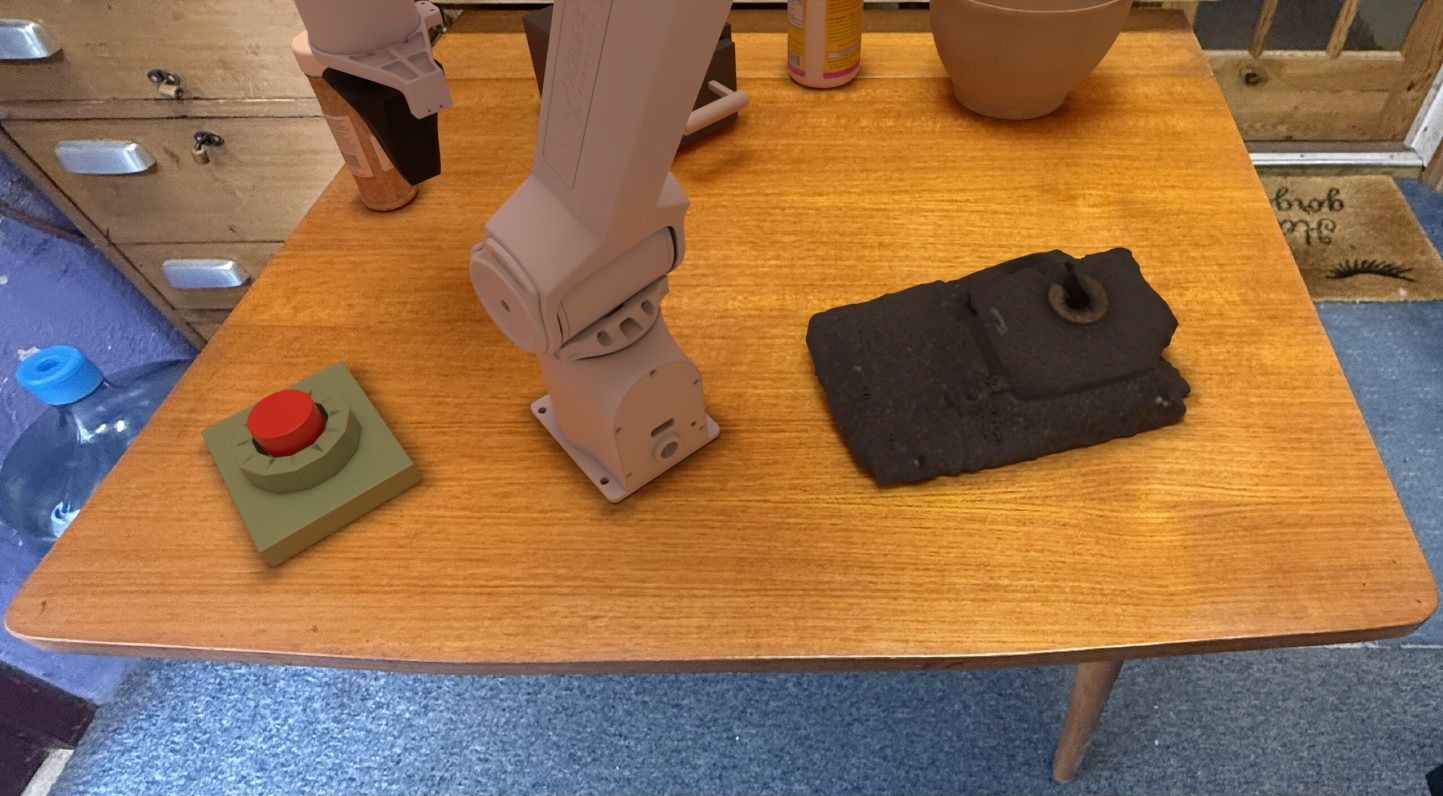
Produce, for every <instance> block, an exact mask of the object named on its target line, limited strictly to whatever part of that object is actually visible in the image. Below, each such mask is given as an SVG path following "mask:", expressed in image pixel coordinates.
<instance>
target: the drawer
mask: <svg viewBox="0 0 1443 796" xmlns="http://www.w3.org/2000/svg"><path fill="white" fill-rule="evenodd" d="M736 57H737V56H736V43H735V41H733V40H732V41H731V40H729V39H727V38H724V39H722V40H720V41H718V43H717V46H716V48H715V51H714V53H713V56H712V59H711V61H710V64H709V67H708V69H707V72H706V75H705V77H704V80H703V83H702V85H701V88H700V91H699V93H698V96H697V98H696V101H695V104H694V106H693V109H692V112H691V114H690V117H689V120H688V122H687V125H686V128H685V130H684V133H683V136H682V138H681V141H680V143H679V146H678V149H680V148H682V147H685V146H686V145H688V143H689V144H691V143H692V141H693V142H695V141H697V140H699V139H701V138H703V137H705V136H707V135H708V134H711V133H713V132H716V131H717V129H718V130H720V129H721V127H722V128H723V126H724V127H726V126H728V125H730V124H732V123H735V122H736V121H738V120H739V111H741V110H744V109H745V108H747V107H748V106H749V100H750V99H749V97H748V95H747V93H746V92H745V90H744V89H738V84H737V83H738V82H737V81H738V80H737V79H738V78H737V61H736V60H737V59H736ZM725 125H726V126H725ZM719 128H720V129H719ZM696 139H697V140H696ZM694 140H695V141H694ZM690 142H691V143H690Z"/></svg>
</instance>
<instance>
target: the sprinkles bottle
mask: <svg viewBox="0 0 1443 796" xmlns="http://www.w3.org/2000/svg"><path fill="white" fill-rule="evenodd" d="M290 47H291V51H292V53H293V56H294V58H295V60H296V63H297V65H298V67H299V69H300V71H301V72H302V73H303V74H304V76H305V77H306V79H307V80H308V82H309V85H310V87H311V88H312V91H313V93H314V96H315V98H316V99H317V102H318V104H319V107H320V111H321V113H322V115H323V117H324V120H325V121H326V124H327V126H328V128H329V131H330V132H331V135H332V136H333V139H334V141H335V144H336V145H337V148H338V150H339V152H340V154H341V156H342V159H343V160H344V163H345V165H346V168H347V169H348V171H349V172H350V173H351V175H352V177H353V178H354V181H355V184H356V186H357V188H358V191H359V192H360V198H361V201H362V204H364V205H365V206H366V207H367V208H369V209H371V210H375V211H384V212H385V211H390V210H396V209H398V208H400V207H403V206H404V205H407V203H410V202H411V201H412V200H413V199H414V198H415V197H416V194H417V192H418V184H417V185H414V186H411V185H410V184H409V183H408V182H407V181H406V180H405V179H404V178H403V177H402V176H401V175H400V174H399V172H398V171H397V170H396V169H395V167H394V166H393V164H392V163H391V161H390V160H389V158H388V157H387V155H386V154H385V152H384V151H383V149H382V148H381V146H380V145H379V143H378V141H377V140H376V138H375V137H374V135H373V134H372V132H371V131H370V129H369V128H368V126H367V125H366V124H365V122H364V121H363V120H362V118H361V117H360V116H359V114H358V113H357V112H356V111H355V110H354V108H353V107H352V106H351V105H349V104H348V103H347V102H346V101H345V100H344V99H343V98H342V97H341V96H340V95H339V94H338V93H337V92H336V91H335V90H334V89H333V88H332V87H331V86H330V85H329V84H328V83H327V82H326V81H325V80H324V79H323V77H322V73H323V71H324V70H325V69H326V68H328V67H327V66H324V65H322V64H321V63H319V62H318V61H317V60H316V59H315V58H314V56H313V54H312V51H311V49H310V47H309V45H308V32H307V30H306V29H305V30H303V31H301V32H299V33H298V34H297V35H295V36H294V38H293V40H292V41H291V44H290Z"/></svg>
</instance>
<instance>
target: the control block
mask: <svg viewBox="0 0 1443 796" xmlns="http://www.w3.org/2000/svg"><path fill="white" fill-rule="evenodd" d="M289 389H295V390H301V391H303V392H305V393H307V394H308V395H310V397H311V398H312V400H313V401H314V403H315V404H316V406H317V407H318V409H319V410H320V412H321V413H322V415H323V417H324V419H325V428H324V431H323V433H322V434H321V436H320V437H319V438H318V439H317V440H316V441H315V442H314V444H313V445H311V446H309V447H307V448H305V449H303V450H301V451H300V452H298V453H296V454H294V455H291V456H284V457H278V456H273V455H270V454H268V453H266V452H265V451H264V450H263V449H262V447H261V446H260V445H259V444H258V442H257V441H256V440H255V438H254V437H253V436H252V434H251V433H250V432H249V430H248V428H247V418H248V415H249V413H250V411H251V410H252V409H253V407H254V406H255V405H256V404H257V403H258V402H256V403H254V404H252V405H249V406H247V407H246V408H244V409H242V410H239V411H238V412H236V413H234V414H231V415H230V416H228V417H226V418H224V419H222V420H220V421H219V422H215V423H214V424H212V425H210V426H208V427H207V428H204V429H202V430H201V431H200V435H201V437H202V439H203V441H204V443H205V445H206V447H207V449H208V451H209V453H210V455H211V458H212V460H213V461H214V463H215V465H216V467H217V469H218V472H219V473H220V476H221V478H222V480H223V482H224V484H225V486H226V488H227V491H228V492H229V494H230V496H231V499H232V500H233V503H234V504H235V506H236V508H237V511H238V513H239V516H240V517H241V519H242V521H243V522H244V525H245V527H246V529H247V532H248V533H249V536H250V538H251V540H252V541H253V544H254V546H255V548H256V550H257V552H258V553H259V554H260V556H261V557H262V558H263V559H264V560H265V561H266V562H267V564H269V566H270V567H272V568H276V567H278V566H279V565H281V564H282V563H284V562H286V561H287V560H289V559H291V558H293V557H294V556H296V555H298V554H300V553H301V552H303V551H304V550H306V549H308V548H310V547H311V546H313V545H315V544H316V543H318V542H320V541H322V540H323V539H325V538H327V537H328V536H330V535H332V534H334V533H335V532H338V531H339V530H340V529H342V528H344V527H346V526H347V525H349V524H351V523H353V522H354V521H356V520H357V519H359V518H361V517H362V516H364V515H366V514H368V513H369V512H371V511H373V510H375V509H376V508H379V506H382V505H383V504H385V503H386V502H388V501H389V500H391V499H393V498H395V497H396V496H398V495H400V494H402V493H404V492H405V491H407V490H409V489H410V488H412V487H414V486H415V485H418V483H421V482H422V481H423V477H422V475H421V474H420V472H419V470H418V469H417V467H416V465H415V463H414V462H413V460H412V458H411V457H410V456H409V454H408V453H407V451H406V450H405V449H404V447H403V446H402V444H401V442H400V441H399V440H398V439H397V437H396V436H395V435H394V433H393V431H392V430H391V428H390V427H389V426H388V424H387V423H386V421H385V420H384V419H383V417H382V416H381V414H380V413H379V411H378V410H377V409H376V407H375V406H374V405H373V404H374V403H372V401H371V400H370V398H369V397H368V396H367V394H366V393H365V391H364V390H363V388H362V387H361V385H360V384H359V382H358V381H357V380H356V378H355V376H353V374H352V373H351V371H350V370H349V368H348V367H347V365H346V364H345V362H344V361H343V360H338V361H337V362H335V363H333V364H331V365H329V366H327V367H325V368H323V369H321V370H318V371H316V372H315V373H313V374H311V375H309V376H307V377H305V378H303V379H301V380H299V381H297V382H295V383H293V384H292V385H289V386H288V387H285V388H284V389H281V390H280V391H282V390H289Z"/></svg>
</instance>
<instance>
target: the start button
mask: <svg viewBox="0 0 1443 796" xmlns="http://www.w3.org/2000/svg"><path fill="white" fill-rule="evenodd" d="M281 390H282V391H281ZM281 390H279V391H275V392H273V393H271V394H269V395H267V396H265V397H264V398H262V399H260V400H259V401H258V402H256V403H257V404H256V403H255V404H256V405H255V406H254V407H253V409H252V410H251V411H250V413H249V415H248V418H247V428H248V430H249V432H250V433H251V434H252V436H253V437H254V438H255V440H256V441H257V442H258V444H259V445H260V446H261V447H262V449H263V450H264V451H265V452H266V453H268V454H270V455H273V456H278V457H284V456H291V455H294V454H296V453H298V452H300V451H301V450H303V449H305V448H307V447H309V446H311V445H313V444H314V442H315V441H316V440H317V439H318V438H319V437H320V436H321V434H322V433H323V431H324V428H325V419H324V417H323V415H322V413H321V412H320V410H319V409H318V407H317V406H316V404H315V403H314V401H313V400H312V398H311V397H310V395H308V394H307V393H305V392H303V391H301V390H295V389H289V390H283V389H281Z"/></svg>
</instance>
